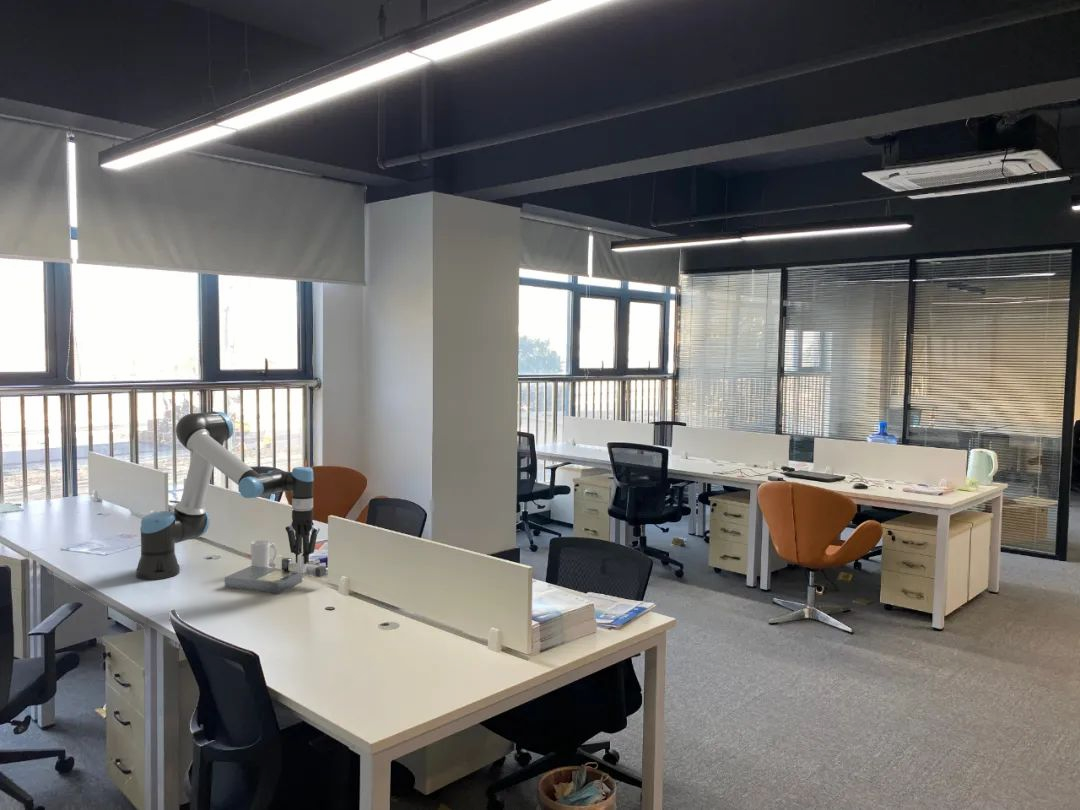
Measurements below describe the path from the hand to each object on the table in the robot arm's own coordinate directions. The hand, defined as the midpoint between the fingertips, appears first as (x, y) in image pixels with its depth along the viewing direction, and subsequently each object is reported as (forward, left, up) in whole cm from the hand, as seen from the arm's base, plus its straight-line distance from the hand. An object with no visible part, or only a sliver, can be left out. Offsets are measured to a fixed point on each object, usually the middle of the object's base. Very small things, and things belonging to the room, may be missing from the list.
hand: (302, 572), depth 287 cm
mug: (-24, +13, -6) cm, 28 cm away
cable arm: (-2, +3, -1) cm, 4 cm away
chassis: (-14, -2, -6) cm, 16 cm away
